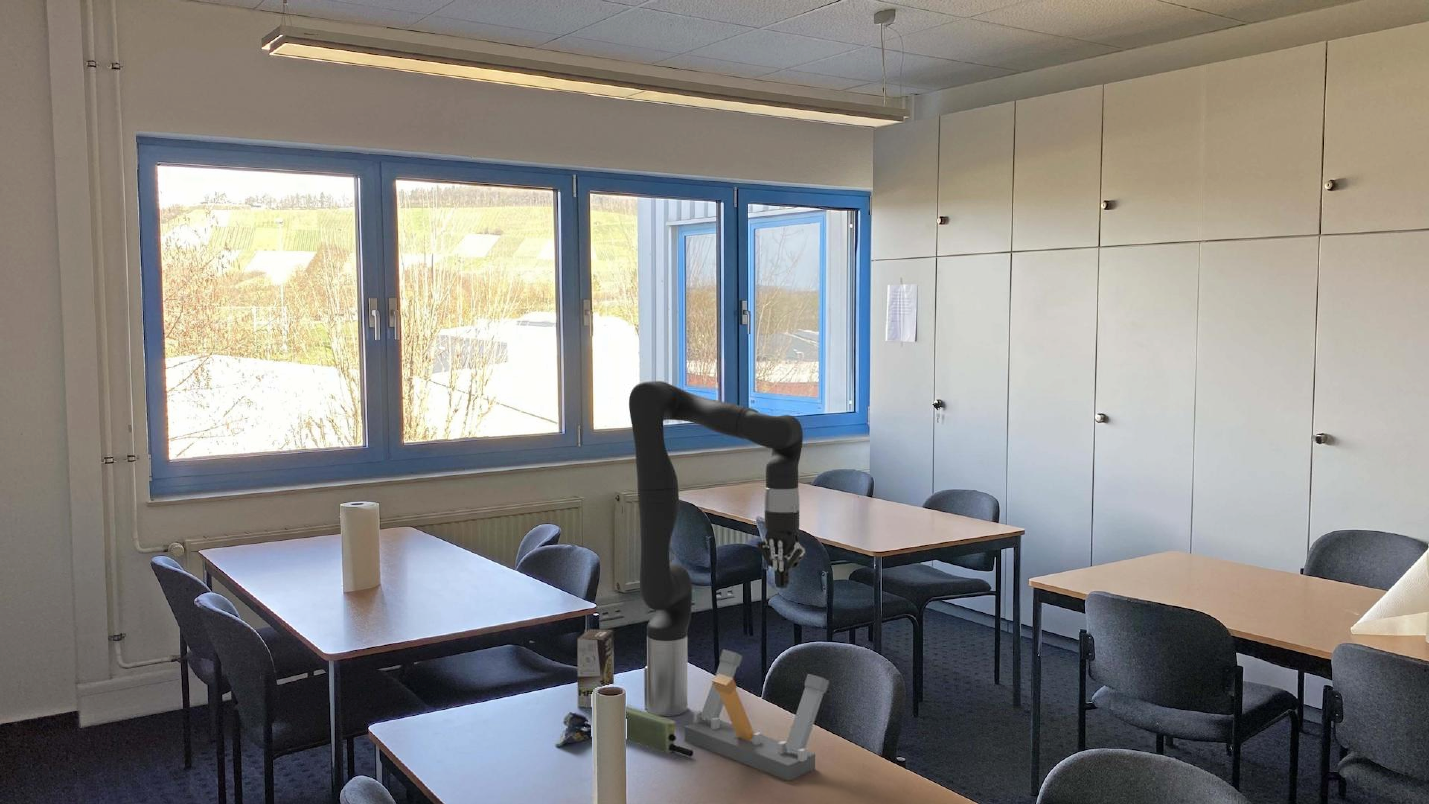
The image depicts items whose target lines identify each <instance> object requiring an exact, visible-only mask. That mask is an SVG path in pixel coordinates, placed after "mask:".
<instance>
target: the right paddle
mask: <svg viewBox="0 0 1429 804" xmlns="http://www.w3.org/2000/svg"><path fill="white" fill-rule="evenodd" d="M805 678H806V679H805V681H804V684H803V685H804V690H803V692H802V696H801V699H800V701H799V705H798V707H797V710H796V713H795V716H794V719H793V721H792V724H791V728H790V731H789V733H788V737H787V740H786V741H785V742H786V745H785V748H787V749H789V750H792V751H795V752H797V753H798V750H799V749H802V748H805V749H807V748H806V747H807V744H808V741H809V738H810V735H811V732H812V730H813V726H814V724H815V720H816V718H817V715H818V712H819V708H820V706H821V702H822V699H823V697H824V694H826V692H827V689H828V687H829V683H830V680H828V679H826V678H824V677H821V676H818V675H816V674H810V673H807V675H806V677H805Z"/></svg>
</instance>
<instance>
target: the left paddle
mask: <svg viewBox="0 0 1429 804" xmlns="http://www.w3.org/2000/svg"><path fill="white" fill-rule="evenodd" d="M742 659H743V655H741V654H739V653H737V652H735V651H731V650H728V649H724V648H723V650H722V651H721V655H720V657H719V661H720V662H719V664H718V667H717V670H716V673H715V675H714V678H715V677H716V676H717V675H718V674H722V675H725V676H728V677H732V678H733V679H734V677H735V673H736V672H737V668H738V667H740V665H741V662H742ZM723 706H724V704H723V701H722V699H721V696H720V694H719V692H718V690H716V689H715V687H714V685H713V682H712V684H711V687H710V689H709V692H708V694H707V697H706V700H705V703H704V704H703V708H702V710H701V712H702V713H701V716H700V717H701V718H702V720H705V719H706V720H709V721H711V719H712V718H715V717H717V718H720V714H721V712H722V709H723Z"/></svg>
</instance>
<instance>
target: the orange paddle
mask: <svg viewBox="0 0 1429 804" xmlns="http://www.w3.org/2000/svg"><path fill="white" fill-rule="evenodd" d="M711 682H712V683H713V685H714V687H715V689H716V690H718V692H719V694H720V696H721V699H722V701H723V706H724V708H725V710H726V713H727V715H728V718H729V720H730V722H731V724H732V725H733V727H734V730H735V732H736V734H737V737H740V738H743V739H746V740H748V741H751V740H752V739H753V734H754V729H753V728H752V725H751V723H750V721H749V720H750V719H749V718H748V715H747V712H746V711H745V708H744V705H743V704H742V701H741V698H740V696H739V694H738V691H737V689H738V687H737V683H736V681H735V679H734V677H733V678H732V677H728V676H725V675H722V674H718V675H717V676H716V677H715V676H714V678H712V679H711Z"/></svg>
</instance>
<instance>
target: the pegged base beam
mask: <svg viewBox="0 0 1429 804" xmlns="http://www.w3.org/2000/svg"><path fill="white" fill-rule="evenodd" d="M701 713H702V710H701V711H700V710H698V711H696V712H693V723H691V724H689V725H686V726H684V741H685V742H687V743H690V744H693V745H695V746H698V747H701V748H703V749H706V750H708V751H711V752H713V753H716V754H719V755H721V756H724V757H727V758H729V759H732V760H733V761H734V760H735V761H737V762H738V763H741V764H744V765H747V766H749V767H753V768H755V769H757V770H759V771H762V772H765V773H767V774H771V775H772V776H776V777H777V778H781V779H783V780H785V781H788V782H789V781H791V780H793V779H796V778H798V777H800V776H803V775H805V774H807V773H809V772H811V771H814V770H816V753H813V752H811V751H808V749H807V748H802V749H799V750H798V753H797V752H795V751H792V750H789V749H787V748H785V745H786V742H787V741H785V740H782V741H780V740H777V739H773V737H768V736H766V735H763V734H762V732H759V731H757V732H754V731H753V732H754V734H753V739H752V740H751V741H748V740H746V739H743V738H740V737H737V734H736V732H735V730H734V727H733V725H732V723H730V722H726V721H724V720H720V717H719V718H717V717H715V718H712V719H711V721H709V720H706V719H703V718H701V717H700V716H701Z"/></svg>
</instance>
